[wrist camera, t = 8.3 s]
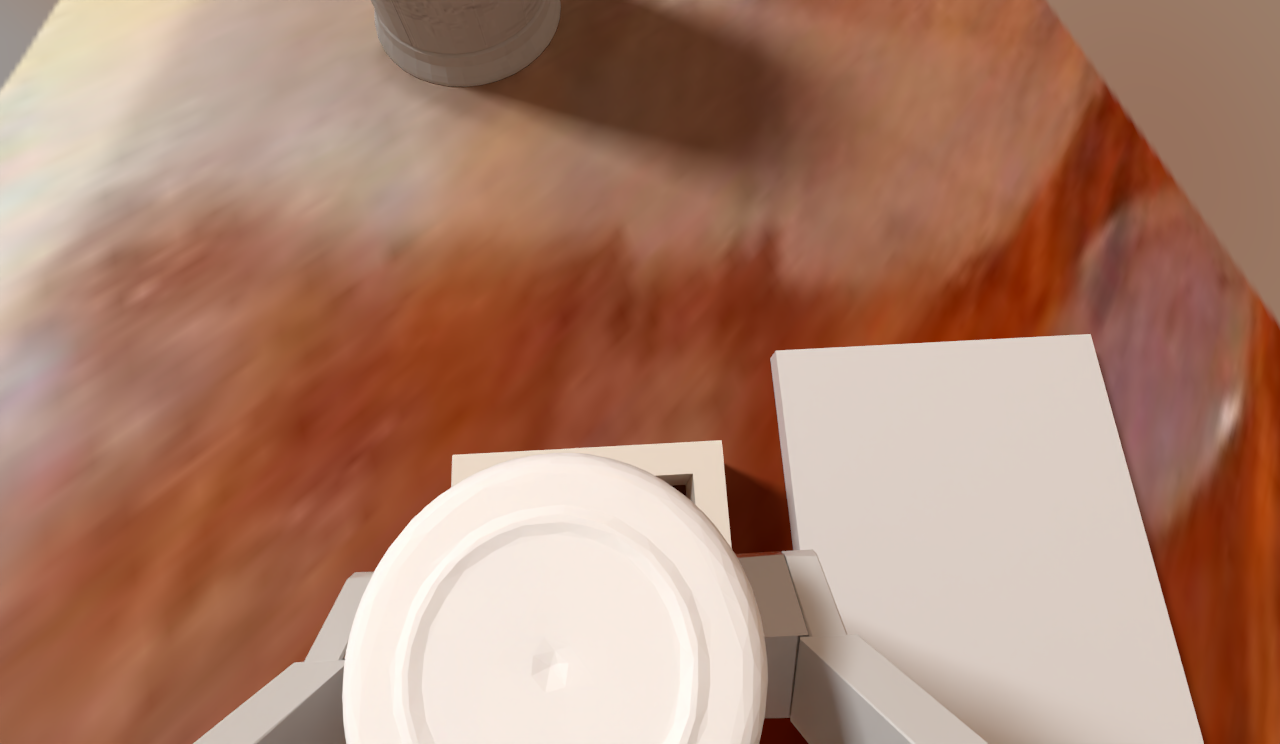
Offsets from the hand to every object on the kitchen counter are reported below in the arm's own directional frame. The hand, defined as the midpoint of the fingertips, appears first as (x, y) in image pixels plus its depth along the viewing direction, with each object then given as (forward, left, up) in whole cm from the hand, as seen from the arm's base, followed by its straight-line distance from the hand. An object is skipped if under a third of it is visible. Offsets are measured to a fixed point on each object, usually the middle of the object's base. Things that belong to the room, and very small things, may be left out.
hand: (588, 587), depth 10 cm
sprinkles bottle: (-1, 0, -10) cm, 10 cm away
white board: (-3, -12, -12) cm, 18 cm away
